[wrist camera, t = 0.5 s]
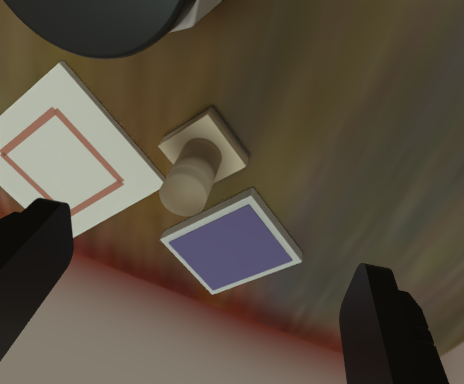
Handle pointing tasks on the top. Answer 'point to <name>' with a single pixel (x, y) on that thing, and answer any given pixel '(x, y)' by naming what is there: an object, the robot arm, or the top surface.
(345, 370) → the robot arm
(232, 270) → the ink pad
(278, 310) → the top surface
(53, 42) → the jar
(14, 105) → the sheet
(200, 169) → the stamp
